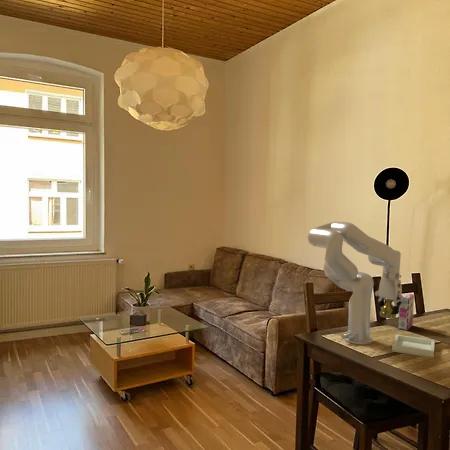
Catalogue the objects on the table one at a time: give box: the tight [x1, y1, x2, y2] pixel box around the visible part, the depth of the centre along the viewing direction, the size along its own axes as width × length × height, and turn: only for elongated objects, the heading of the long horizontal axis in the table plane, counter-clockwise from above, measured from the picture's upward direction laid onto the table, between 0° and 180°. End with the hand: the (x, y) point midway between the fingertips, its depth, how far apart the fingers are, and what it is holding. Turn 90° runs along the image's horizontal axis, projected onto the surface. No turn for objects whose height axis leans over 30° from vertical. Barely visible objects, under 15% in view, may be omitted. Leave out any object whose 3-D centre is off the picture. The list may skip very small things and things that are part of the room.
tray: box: [391, 334, 436, 359], centre depth 188 cm, size 16×16×3 cm
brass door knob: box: [379, 298, 397, 320], centre depth 207 cm, size 7×7×10 cm
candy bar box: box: [397, 293, 415, 331], centre depth 218 cm, size 11×5×16 cm, turn 144°
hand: (388, 311), depth 207 cm, fingers closed on brass door knob, 7 cm apart
